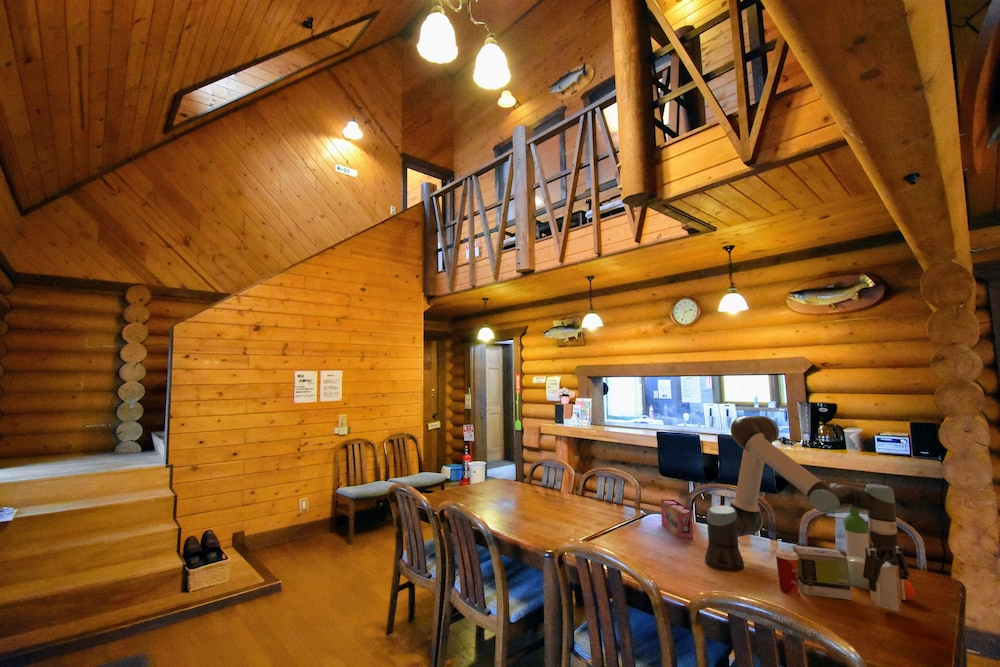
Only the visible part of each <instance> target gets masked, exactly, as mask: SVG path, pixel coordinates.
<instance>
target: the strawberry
mask: <svg viewBox="0 0 1000 667" xmlns="http://www.w3.org/2000/svg"><path fill="white" fill-rule="evenodd" d="M904 584H905V588H904V590H905V600H903V599H901V601H902V600H903V601H910V600H912V599H913V598H914V596H915V595H916V592H915V588H914V587H913V585H912V583H911V582H909V581H908V580H905V579H904Z"/></svg>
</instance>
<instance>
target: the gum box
mask: <svg viewBox="0 0 1000 667" xmlns="http://www.w3.org/2000/svg"><path fill="white" fill-rule="evenodd" d="M660 508H661V509H660V513H661V517H660V518H661V525H662V526H663V527H664V528H665V527H666V528H665V529H667V531H671V533H672V534H673V535H674V536H676V537H677V538H678V539H694V532H693V530H694V529H693V528H694V527H693V512H692V511H693V510H692V509H690V508H689V507H687V506H685V505H683V504H682V503H680V502H679V501H676V500H675V499H660Z"/></svg>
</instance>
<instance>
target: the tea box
mask: <svg viewBox="0 0 1000 667" xmlns="http://www.w3.org/2000/svg"><path fill="white" fill-rule="evenodd" d="M792 551H793V552H795V553H796V554H797V555H798V557H799V559H798V589H800V590H801V592H802V593H803V594H804V595H808V596H809V595H810V596H816V597H817V596H818V597H825V598H834V599H840V600H847V601H852V600H853V599H852V590H851V585H850V579H849V570H848V562H847V558H846V557H847V556H845V555H844V554H842V553H841V552H840V551H839V550H838V549H836V548H823V547H817V546H816V547H815V546H802V545H792Z"/></svg>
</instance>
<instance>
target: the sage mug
mask: <svg viewBox="0 0 1000 667" xmlns="http://www.w3.org/2000/svg"><path fill="white" fill-rule="evenodd" d="M845 557H846V558H847V562H848V570H849V579H850V587H851V586H852V587H854V588H856V589H857V588H858V589H860V590H861V589H862V590H870V589H869V580H868V579H866V578H864V577H863V571H864V564H865V559H863V558H859V557H852V556H847V555H846V556H845Z"/></svg>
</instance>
